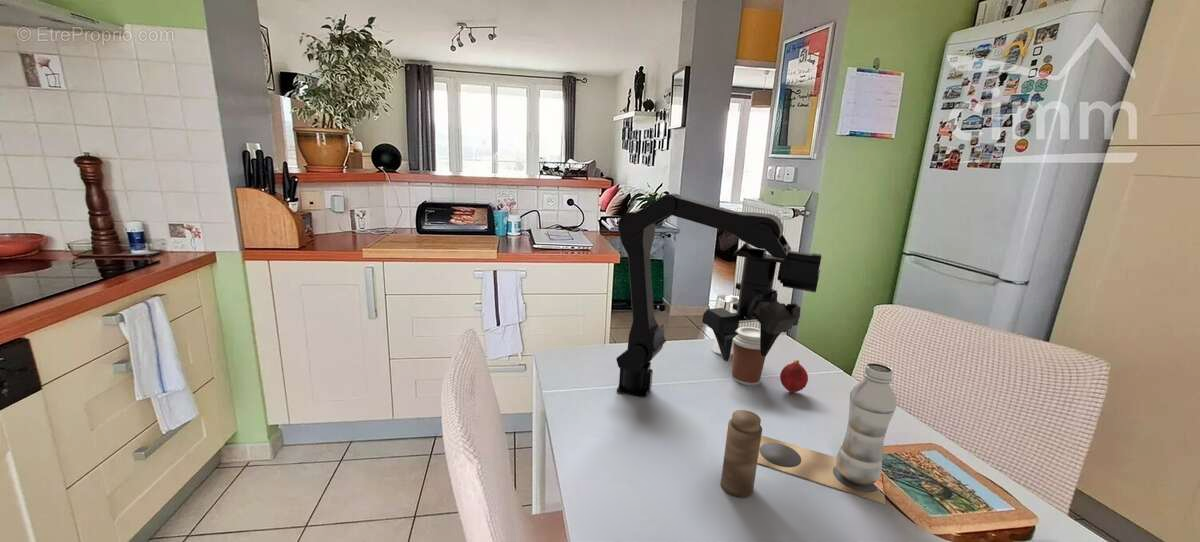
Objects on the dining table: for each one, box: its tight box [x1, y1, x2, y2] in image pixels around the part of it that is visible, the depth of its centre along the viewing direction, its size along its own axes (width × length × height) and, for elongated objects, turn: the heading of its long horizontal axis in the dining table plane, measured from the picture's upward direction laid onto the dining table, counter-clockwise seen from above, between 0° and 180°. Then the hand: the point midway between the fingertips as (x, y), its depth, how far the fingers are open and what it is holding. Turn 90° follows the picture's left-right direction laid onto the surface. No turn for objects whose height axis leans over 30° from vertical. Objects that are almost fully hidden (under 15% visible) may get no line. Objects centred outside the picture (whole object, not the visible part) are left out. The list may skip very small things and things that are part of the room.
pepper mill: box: [720, 409, 763, 499], centre depth 74 cm, size 5×5×12 cm
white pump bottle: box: [711, 294, 741, 356], centre depth 126 cm, size 7×7×15 cm
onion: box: [779, 359, 809, 394], centre depth 106 cm, size 6×6×8 cm
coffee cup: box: [731, 326, 767, 386], centre depth 111 cm, size 9×9×12 cm
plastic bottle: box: [835, 362, 898, 485], centre depth 76 cm, size 6×7×20 cm
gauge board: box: [757, 434, 886, 505], centre depth 81 cm, size 21×9×1 cm, turn 63°
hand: (744, 358), depth 92 cm, fingers open, 9 cm apart
